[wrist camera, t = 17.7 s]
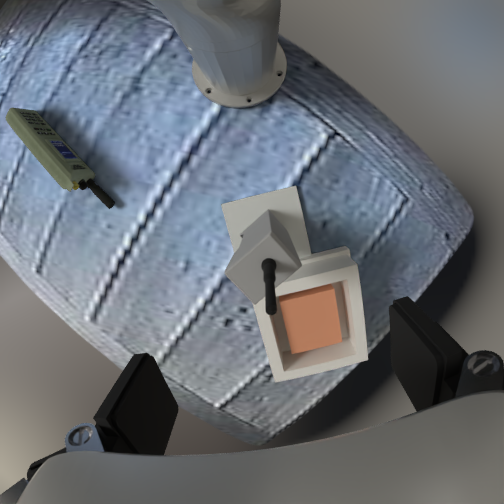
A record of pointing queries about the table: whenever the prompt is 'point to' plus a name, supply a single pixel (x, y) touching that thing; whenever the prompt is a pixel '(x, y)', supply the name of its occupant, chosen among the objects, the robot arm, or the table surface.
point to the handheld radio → (54, 153)
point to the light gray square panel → (281, 206)
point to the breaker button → (311, 318)
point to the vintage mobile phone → (263, 260)
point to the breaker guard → (349, 310)
